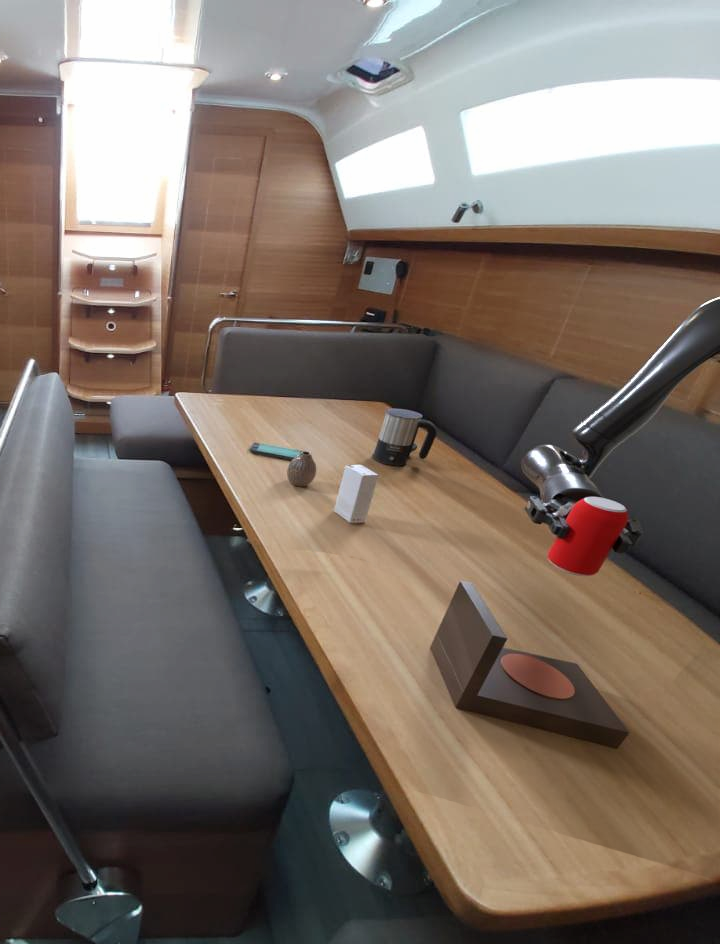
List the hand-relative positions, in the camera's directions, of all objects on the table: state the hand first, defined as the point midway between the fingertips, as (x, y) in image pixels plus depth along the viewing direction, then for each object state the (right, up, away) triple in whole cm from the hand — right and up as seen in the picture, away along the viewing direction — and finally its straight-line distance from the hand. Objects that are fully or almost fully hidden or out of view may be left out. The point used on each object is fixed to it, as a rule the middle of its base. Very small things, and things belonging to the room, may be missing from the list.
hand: (592, 540), depth 75 cm
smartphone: (-18, +17, +75) cm, 79 cm away
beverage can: (+1, -5, +5) cm, 7 cm away
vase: (-20, +8, +56) cm, 60 cm away
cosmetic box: (-15, 0, +41) cm, 44 cm away
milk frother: (+18, +16, +76) cm, 80 cm away
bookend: (-16, -21, -5) cm, 27 cm away
